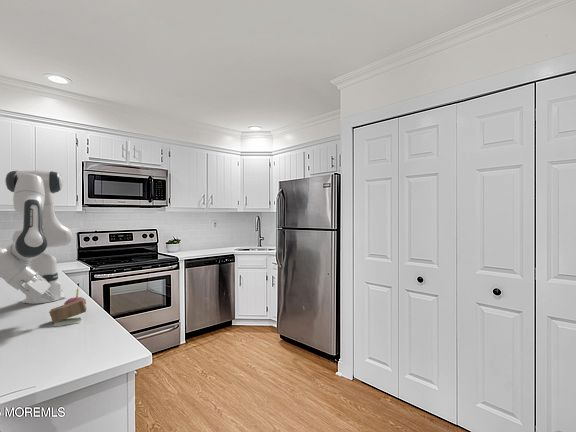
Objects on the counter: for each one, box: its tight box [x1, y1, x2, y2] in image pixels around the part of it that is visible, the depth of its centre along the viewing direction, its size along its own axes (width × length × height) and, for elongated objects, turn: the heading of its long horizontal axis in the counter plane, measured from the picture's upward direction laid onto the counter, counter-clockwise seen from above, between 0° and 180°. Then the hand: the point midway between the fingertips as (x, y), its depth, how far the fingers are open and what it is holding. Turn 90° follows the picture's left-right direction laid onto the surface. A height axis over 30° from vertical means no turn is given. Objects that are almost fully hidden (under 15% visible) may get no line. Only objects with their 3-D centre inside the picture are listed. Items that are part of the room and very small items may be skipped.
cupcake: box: [63, 288, 87, 305], centre depth 151 cm, size 9×8×12 cm
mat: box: [52, 313, 83, 327], centre depth 141 cm, size 14×9×1 cm, turn 28°
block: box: [48, 299, 87, 324], centre depth 141 cm, size 5×5×12 cm
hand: (53, 299), depth 139 cm, fingers closed
